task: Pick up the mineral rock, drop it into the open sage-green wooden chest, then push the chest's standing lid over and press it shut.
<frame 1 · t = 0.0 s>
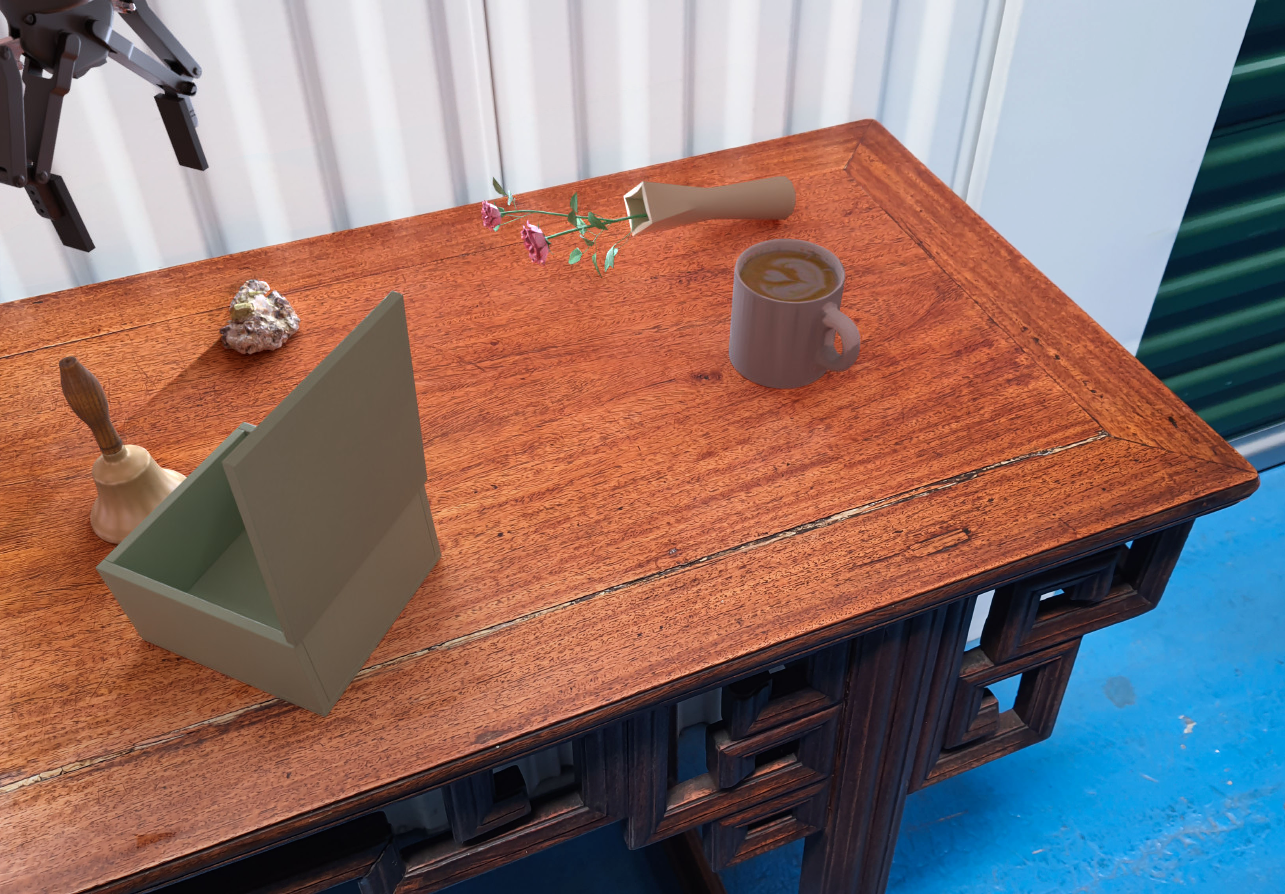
hand: (140, 204, 85), 17 cm above the table, tool pointing down, fingers open, 13 cm apart
coffee mug: (789, 366, 96), on the table
mineral rock: (261, 327, 100), on the table
chest lid: (343, 472, 62), point 18 cm above the table, hinge at 95.0°
flower vase: (648, 257, 108), on the table
hand bell: (144, 508, 84), on the table
chest: (297, 596, 77), on the table
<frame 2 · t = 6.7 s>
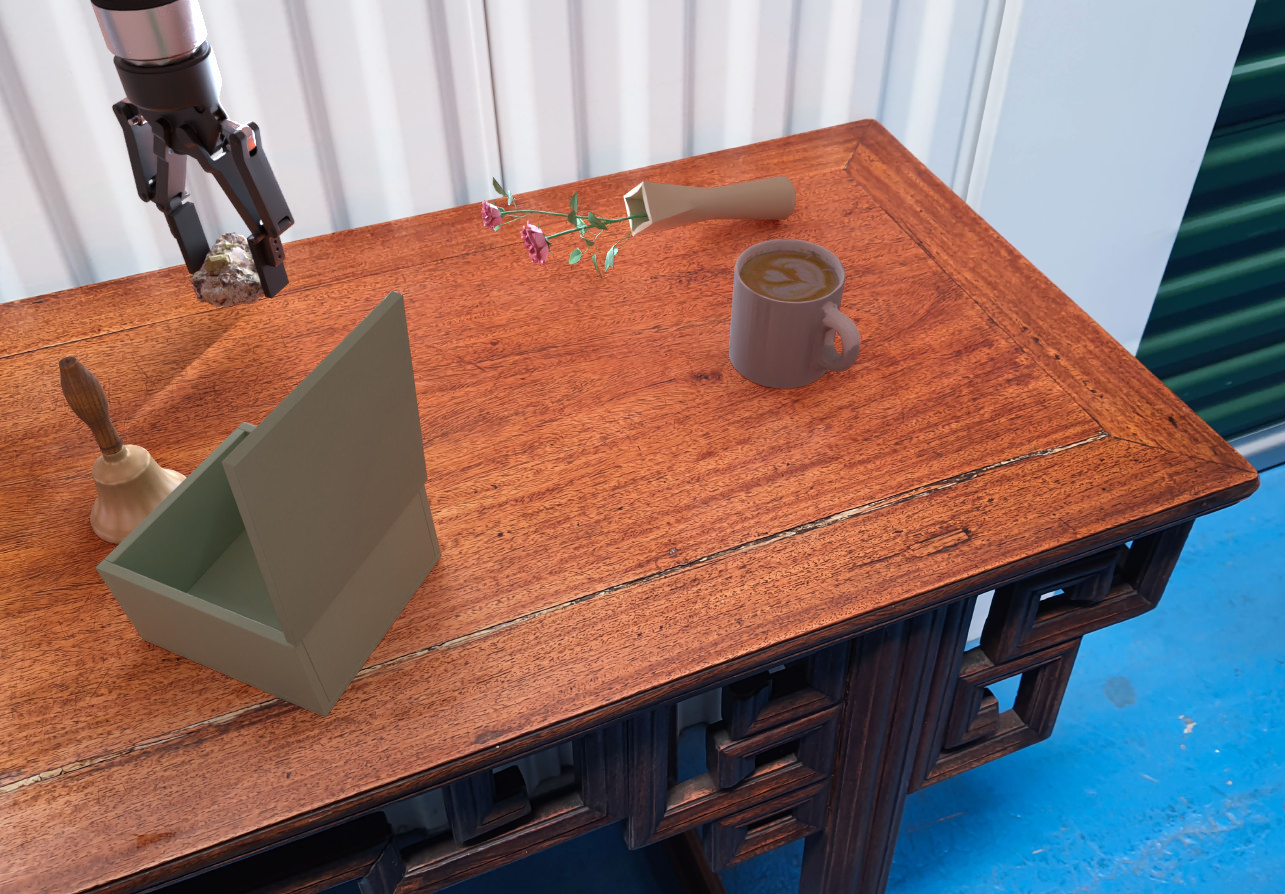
hand: (239, 278, 96), 6 cm above the table, tool pointing down, fingers closed on mineral rock, 8 cm apart
mineral rock: (238, 281, 96), point 5 cm above the table, touching gripper
everything else where it was.
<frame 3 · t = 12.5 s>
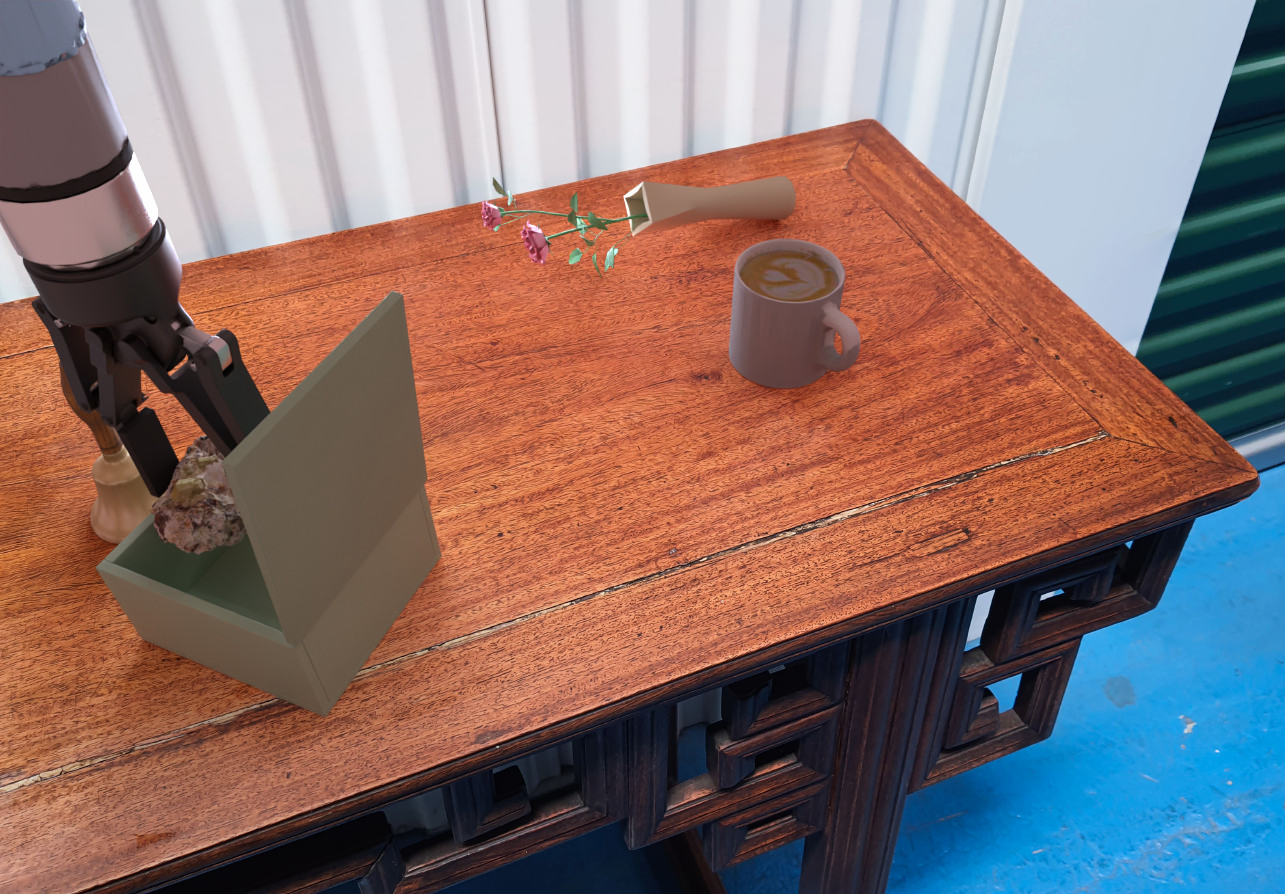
hand: (217, 502, 71), 9 cm above the table, tool pointing down, fingers closed on mineral rock, 8 cm apart
mineral rock: (216, 505, 72), point 9 cm above the table, touching gripper
everything else where it was.
when the fingers open (9 cm above the table, at t = 24.2 s): mineral rock drops 4 cm, resting on chest.
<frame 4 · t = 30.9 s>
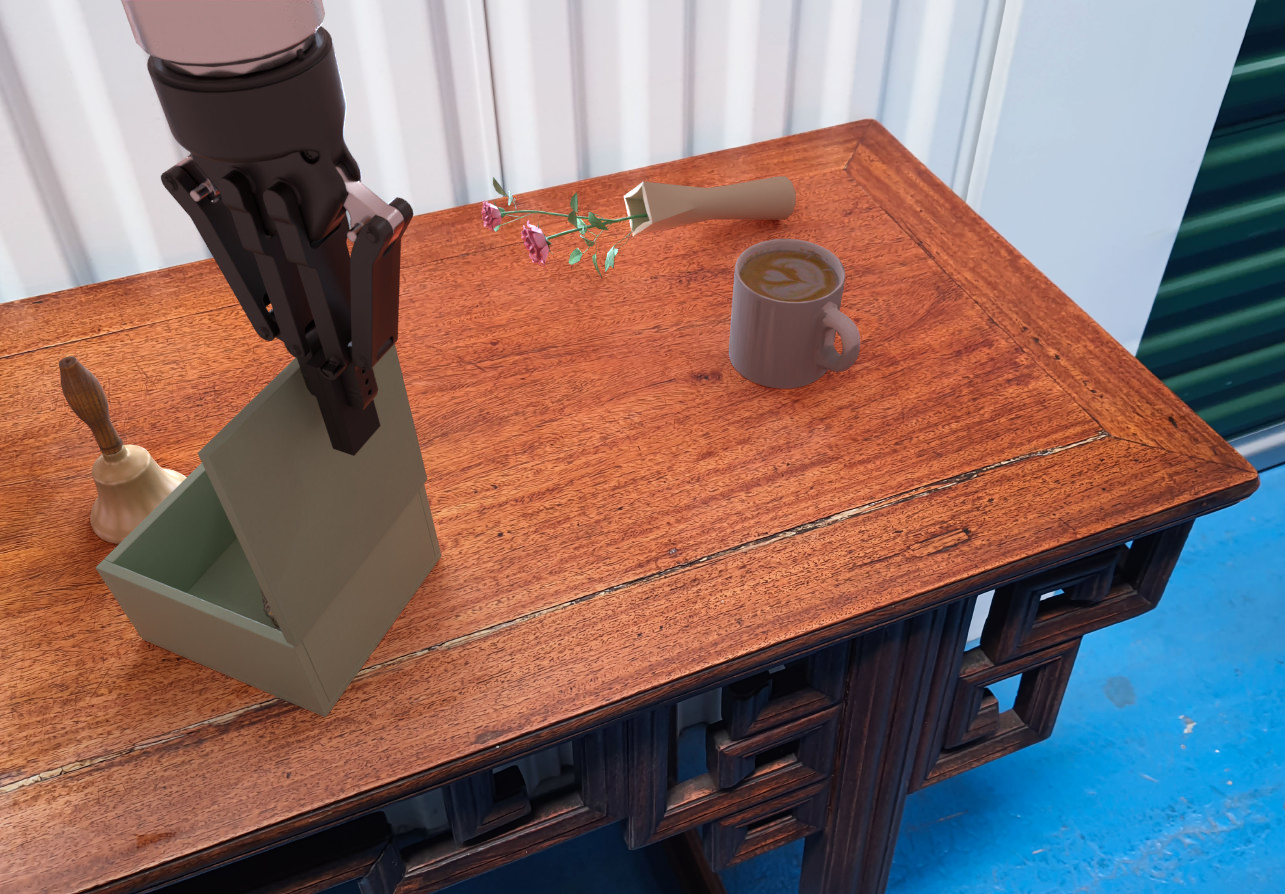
hand: (357, 436, 58), 22 cm above the table, tool pointing down, fingers closed
mineral rock: (326, 565, 73), point 5 cm above the table, touching chest
chest lid: (333, 468, 62), point 18 cm above the table, hinge at 89.9°
everything else where it was.
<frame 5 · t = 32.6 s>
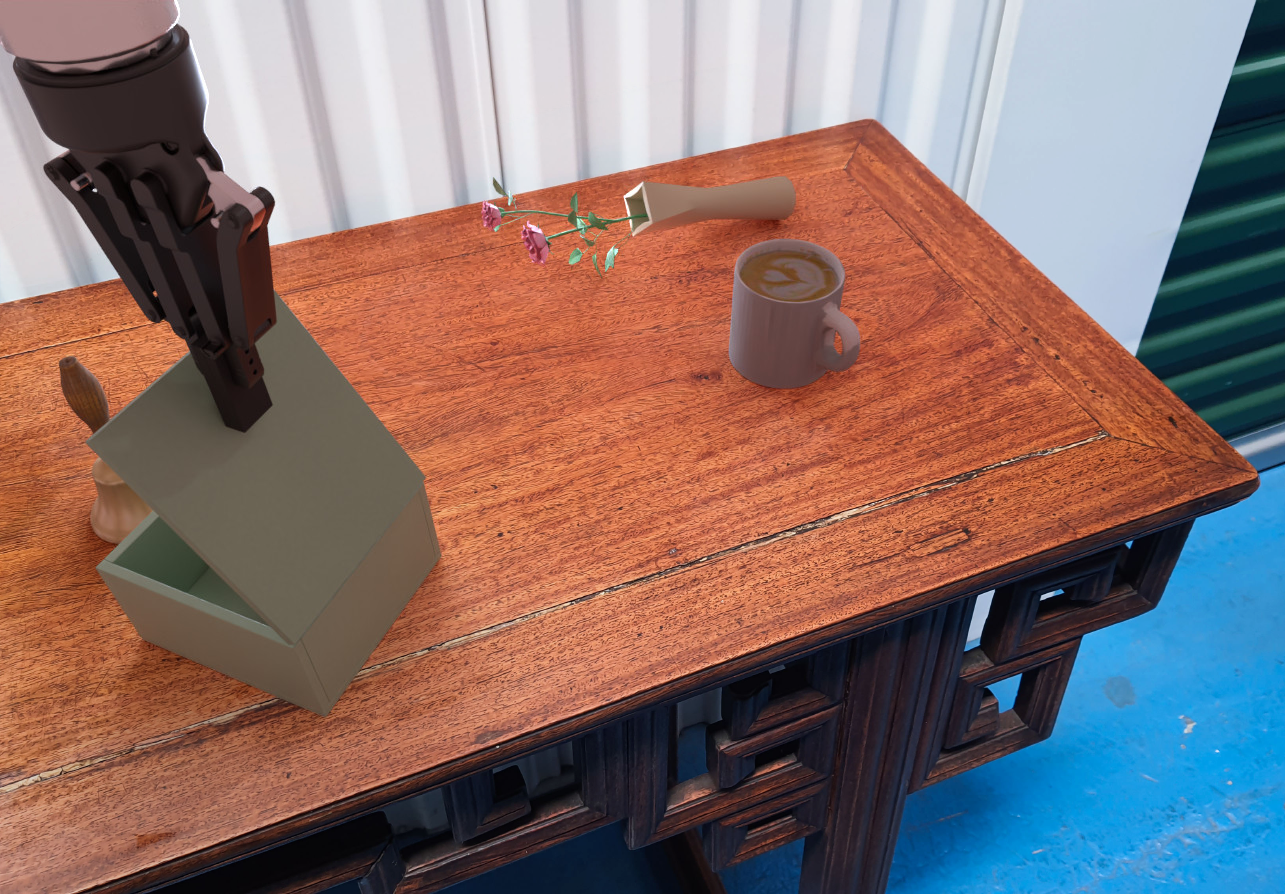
hand: (249, 415, 61), 20 cm above the table, tool pointing down, fingers closed
chest lid: (278, 462, 64), point 17 cm above the table, hinge at 58.3°, touching gripper
everything else where it was.
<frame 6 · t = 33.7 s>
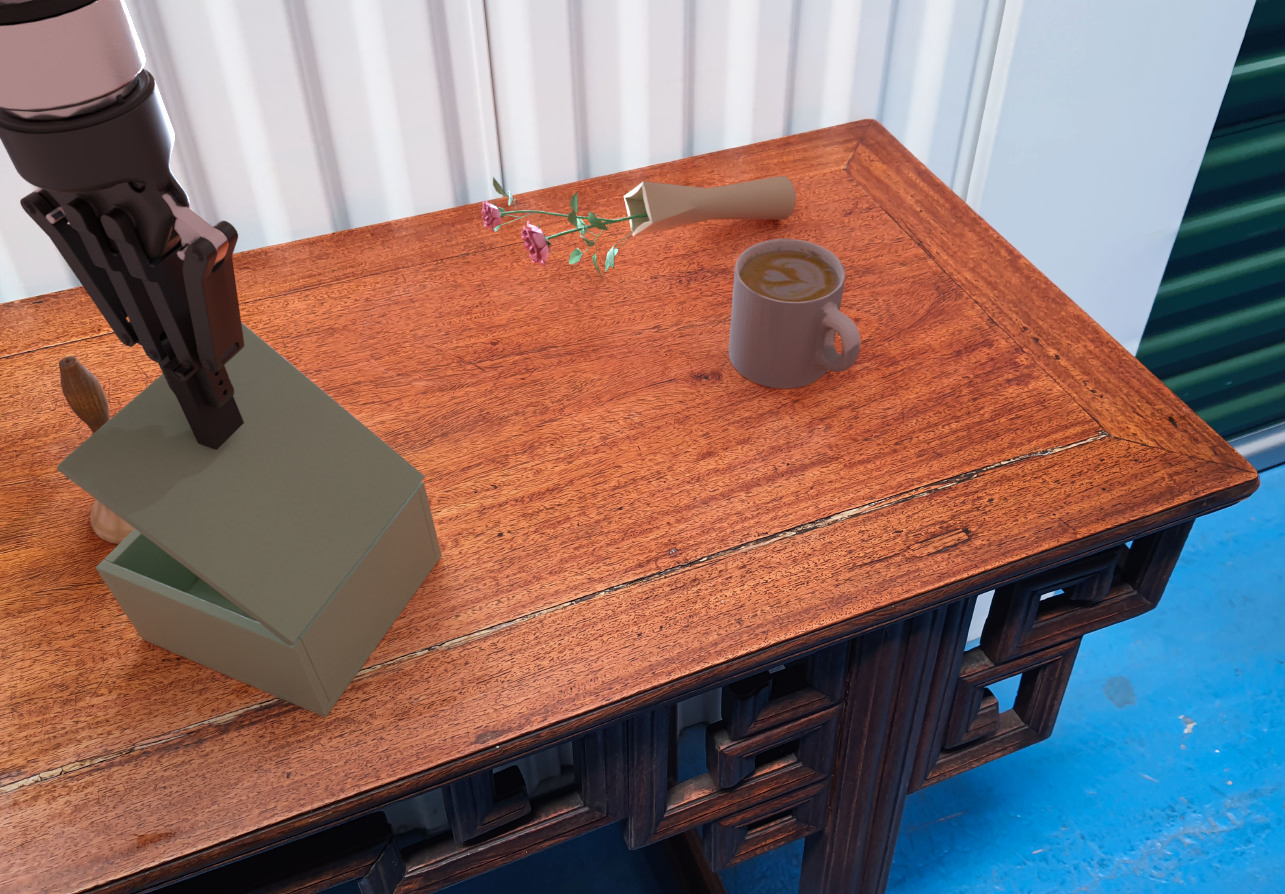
hand: (221, 432, 64), 18 cm above the table, tool pointing down, fingers closed
chest lid: (259, 473, 66), point 15 cm above the table, hinge at 38.7°, touching gripper
everything else where it was.
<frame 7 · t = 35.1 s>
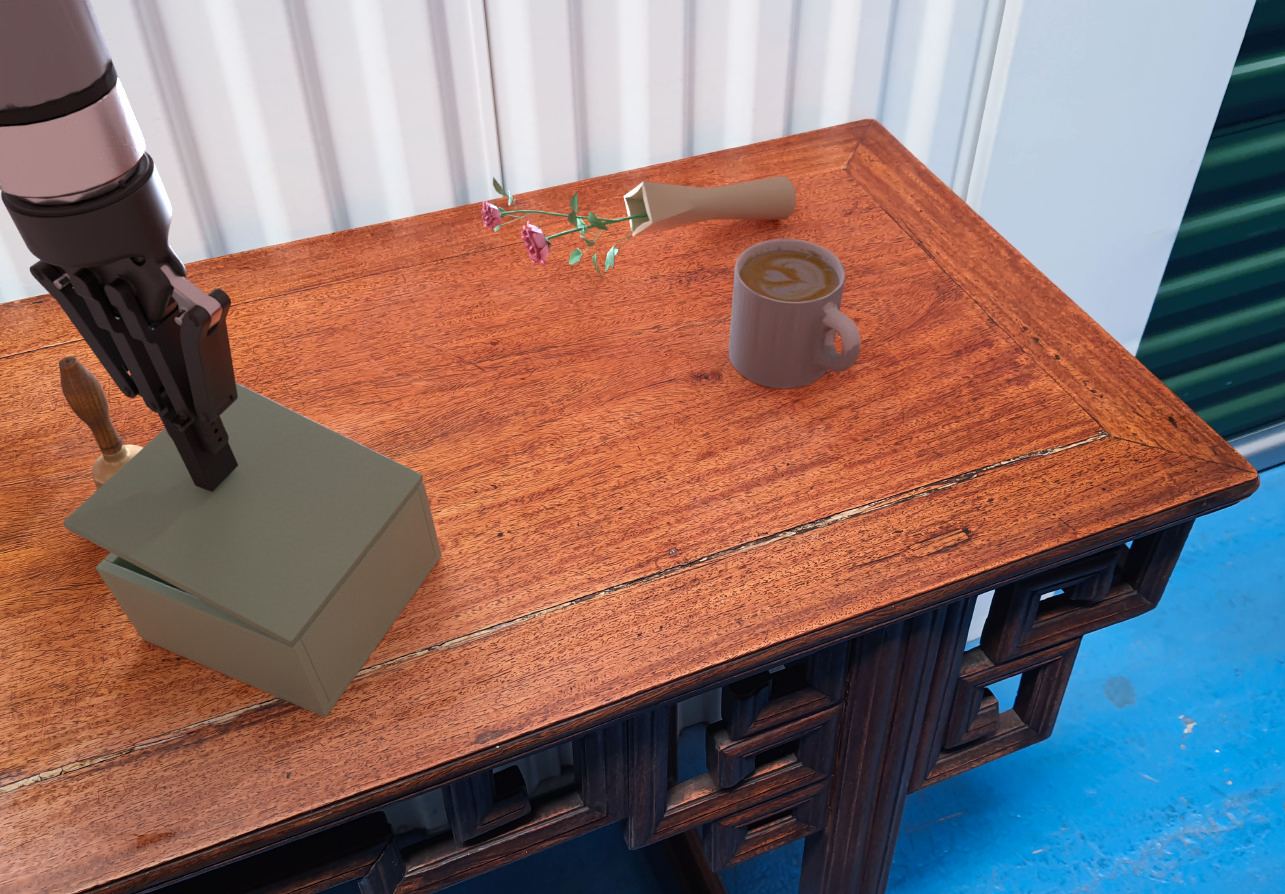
hand: (216, 475, 69), 13 cm above the table, tool pointing down, fingers closed
chest lid: (254, 500, 69), point 11 cm above the table, hinge at 12.9°, touching gripper
everything else where it was.
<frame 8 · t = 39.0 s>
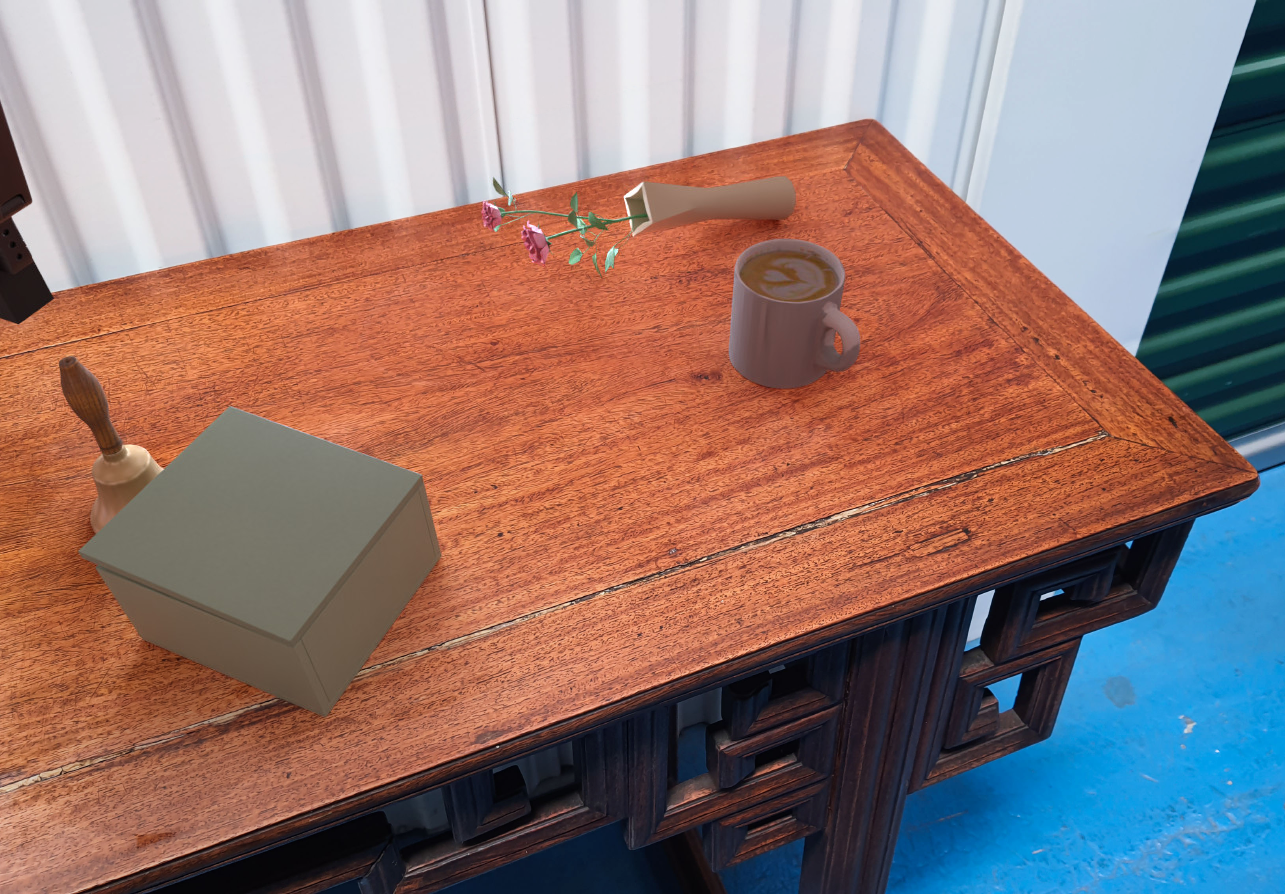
hand: (27, 308, 60), 26 cm above the table, tool pointing down, fingers closed
chest lid: (258, 515, 70), point 10 cm above the table, hinge at 1.8°
everything else where it was.
at the end: mineral rock inside the target area in the chest (3.5 cm from its centre), point 4.6 cm above the chest's base; chest lid at +2° (first picture: +95°) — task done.
